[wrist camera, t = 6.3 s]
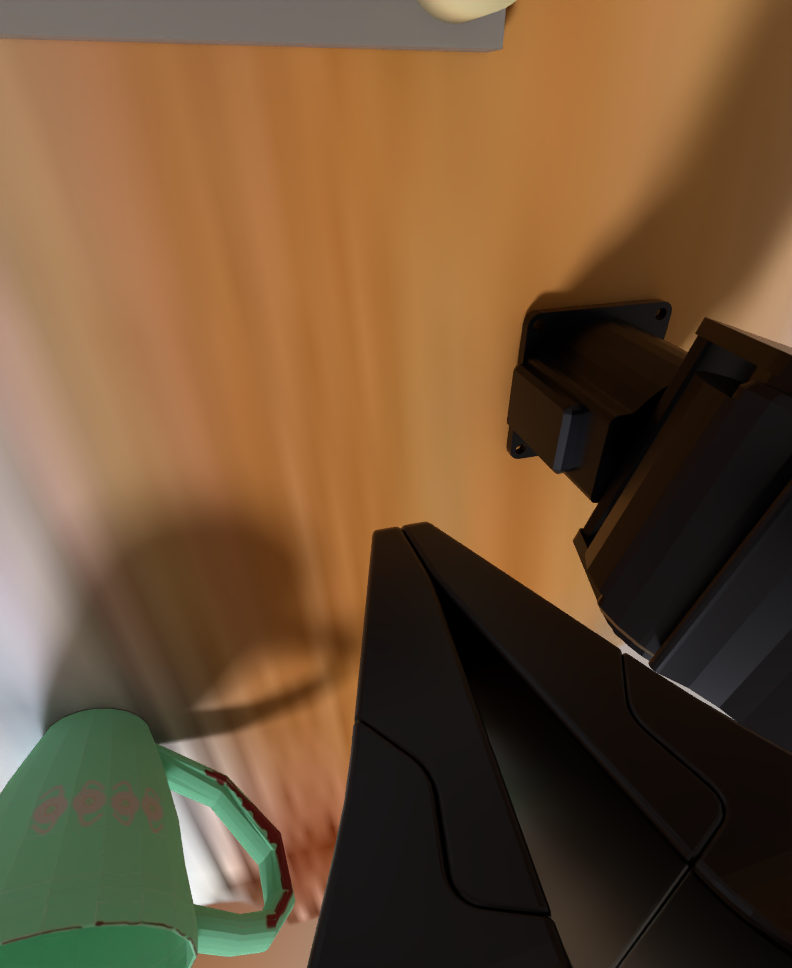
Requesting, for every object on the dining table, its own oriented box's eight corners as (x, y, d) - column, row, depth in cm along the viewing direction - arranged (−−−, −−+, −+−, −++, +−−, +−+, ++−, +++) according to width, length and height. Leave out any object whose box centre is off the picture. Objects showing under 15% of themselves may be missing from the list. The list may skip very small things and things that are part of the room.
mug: (-40, 792, 27) (-145, 1076, 19) (8, 660, 23) (-94, 942, 15) (242, 797, 34) (252, 1004, 26) (312, 697, 31) (349, 902, 23)
